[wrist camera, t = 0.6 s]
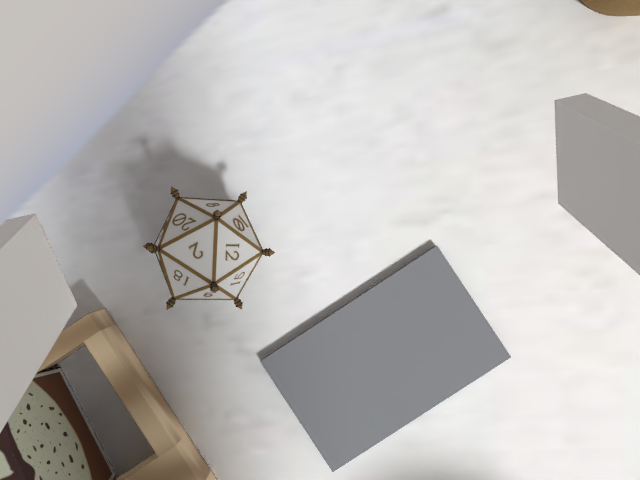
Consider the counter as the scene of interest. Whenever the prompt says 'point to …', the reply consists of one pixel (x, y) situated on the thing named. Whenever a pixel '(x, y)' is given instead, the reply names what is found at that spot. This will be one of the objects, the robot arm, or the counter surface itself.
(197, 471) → the wooden compartment tray
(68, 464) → the food container
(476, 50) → the counter surface
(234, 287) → the game die
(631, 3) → the plant pot
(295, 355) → the mat
